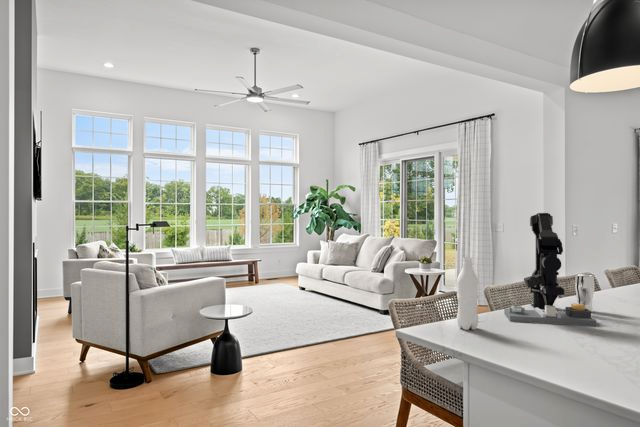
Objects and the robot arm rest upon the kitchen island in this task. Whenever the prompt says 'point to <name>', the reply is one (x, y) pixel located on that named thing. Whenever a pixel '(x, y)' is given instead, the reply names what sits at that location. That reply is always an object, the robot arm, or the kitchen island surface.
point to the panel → (561, 317)
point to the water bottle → (467, 296)
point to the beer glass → (585, 290)
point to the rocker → (516, 307)
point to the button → (578, 307)
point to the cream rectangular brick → (550, 311)
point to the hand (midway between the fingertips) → (548, 309)
